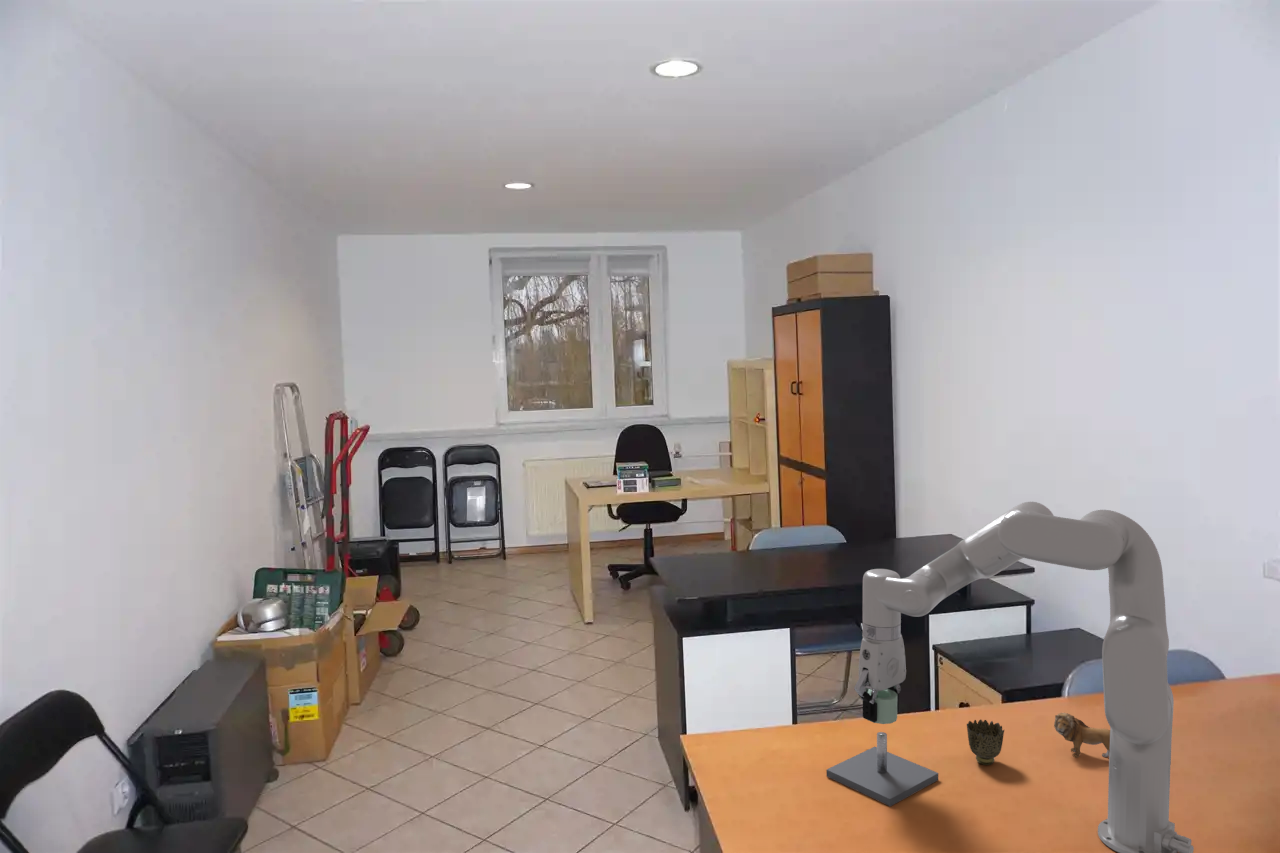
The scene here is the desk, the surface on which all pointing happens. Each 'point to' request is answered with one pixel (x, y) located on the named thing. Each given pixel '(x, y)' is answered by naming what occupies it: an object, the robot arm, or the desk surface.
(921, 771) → the board
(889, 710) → the bead
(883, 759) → the rod
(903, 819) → the desk surface
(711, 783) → the desk surface
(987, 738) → the cup
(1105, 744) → the lion figurine
